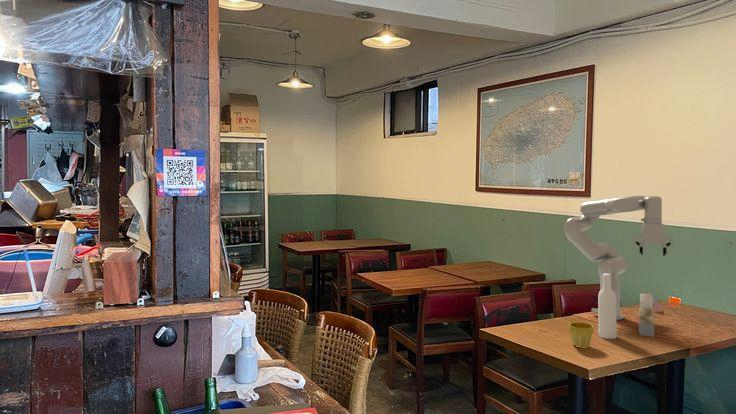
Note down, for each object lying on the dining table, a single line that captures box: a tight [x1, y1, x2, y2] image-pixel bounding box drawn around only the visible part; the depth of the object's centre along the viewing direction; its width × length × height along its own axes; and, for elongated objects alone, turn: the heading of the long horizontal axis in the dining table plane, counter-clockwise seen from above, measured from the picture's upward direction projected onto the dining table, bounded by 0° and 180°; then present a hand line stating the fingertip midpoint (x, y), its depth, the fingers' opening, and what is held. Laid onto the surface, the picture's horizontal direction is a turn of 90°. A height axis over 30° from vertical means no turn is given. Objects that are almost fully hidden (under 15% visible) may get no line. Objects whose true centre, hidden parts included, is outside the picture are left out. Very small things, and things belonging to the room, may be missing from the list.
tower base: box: [638, 321, 655, 337], centre depth 242 cm, size 6×6×6 cm
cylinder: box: [639, 292, 654, 311], centre depth 242 cm, size 5×5×7 cm
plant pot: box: [568, 321, 595, 347], centre depth 228 cm, size 10×10×10 cm
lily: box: [648, 292, 663, 313], centre depth 281 cm, size 12×12×10 cm
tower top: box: [638, 306, 655, 325], centre depth 242 cm, size 6×6×6 cm
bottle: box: [597, 274, 618, 340], centre depth 240 cm, size 8×8×30 cm
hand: (652, 255), depth 253 cm, fingers open, 9 cm apart
